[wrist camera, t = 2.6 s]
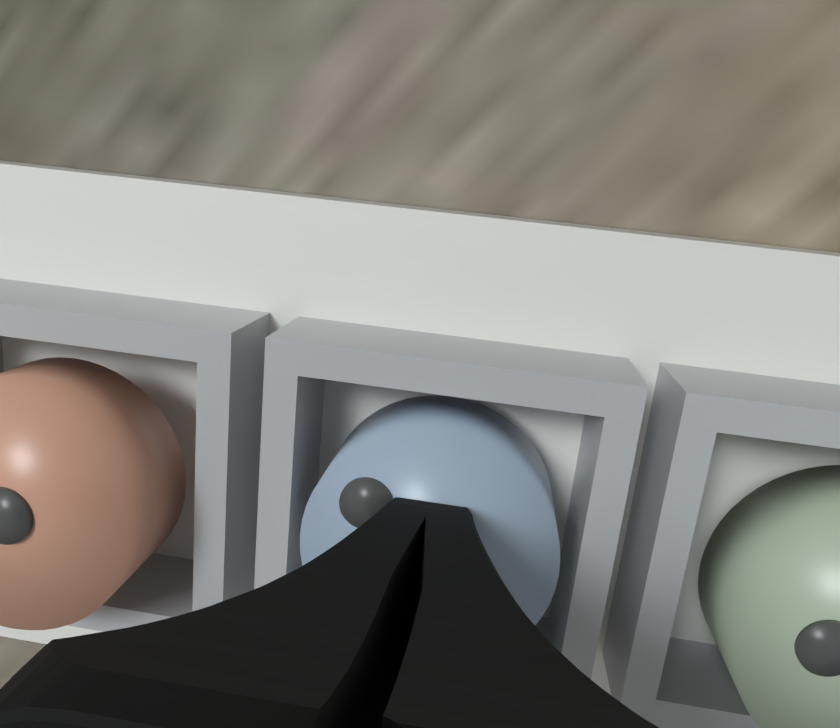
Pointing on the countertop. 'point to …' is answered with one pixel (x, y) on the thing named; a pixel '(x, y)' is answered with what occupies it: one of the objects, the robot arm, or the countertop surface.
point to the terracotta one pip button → (79, 488)
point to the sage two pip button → (780, 598)
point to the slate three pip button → (446, 486)
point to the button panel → (438, 384)
